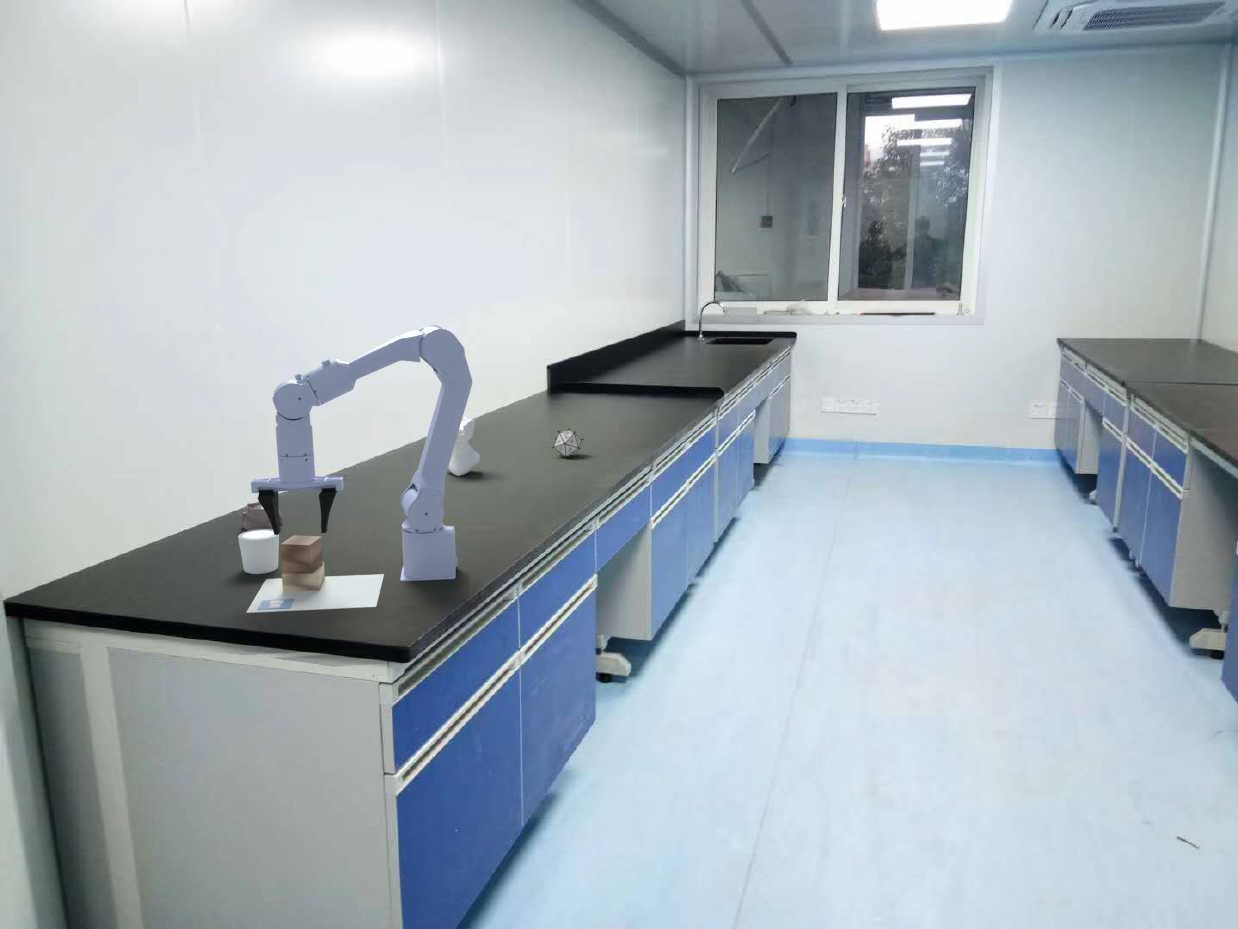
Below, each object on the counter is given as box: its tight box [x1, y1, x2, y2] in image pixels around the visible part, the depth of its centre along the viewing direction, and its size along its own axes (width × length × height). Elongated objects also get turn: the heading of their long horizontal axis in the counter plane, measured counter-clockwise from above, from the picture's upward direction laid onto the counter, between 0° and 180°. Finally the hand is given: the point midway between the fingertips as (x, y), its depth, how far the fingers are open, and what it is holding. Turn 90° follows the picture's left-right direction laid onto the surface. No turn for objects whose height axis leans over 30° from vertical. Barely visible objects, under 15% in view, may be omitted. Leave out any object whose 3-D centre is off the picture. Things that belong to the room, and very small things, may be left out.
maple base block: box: [281, 561, 326, 592], centre depth 162 cm, size 6×6×3 cm
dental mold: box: [240, 502, 284, 531], centre depth 197 cm, size 8×7×5 cm
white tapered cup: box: [237, 529, 280, 575], centre depth 170 cm, size 7×7×7 cm
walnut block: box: [280, 535, 324, 574], centre depth 162 cm, size 5×5×5 cm
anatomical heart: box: [448, 415, 481, 477], centre depth 244 cm, size 10×11×15 cm
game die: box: [550, 427, 584, 458], centre depth 268 cm, size 9×8×10 cm
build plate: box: [245, 573, 385, 614], centre depth 159 cm, size 20×16×1 cm
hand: (300, 532), depth 161 cm, fingers open, 7 cm apart
